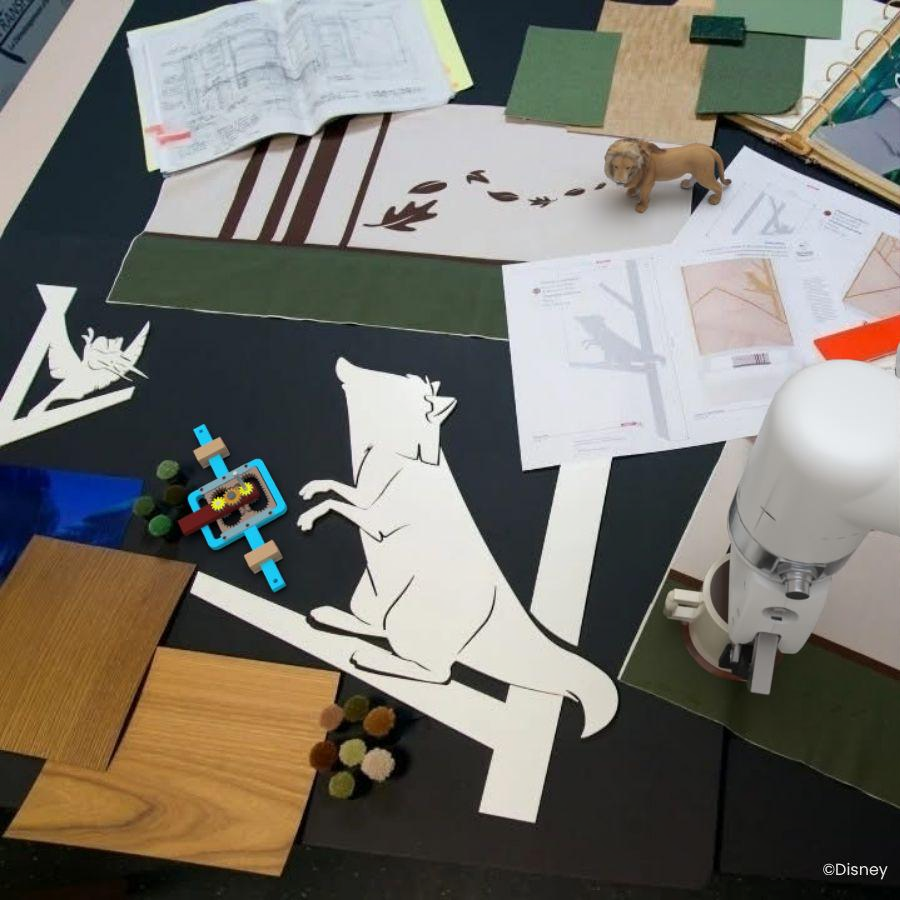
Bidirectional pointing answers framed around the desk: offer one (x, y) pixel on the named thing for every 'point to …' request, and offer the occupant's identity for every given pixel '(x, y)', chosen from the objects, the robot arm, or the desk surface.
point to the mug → (706, 612)
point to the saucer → (713, 666)
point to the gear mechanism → (235, 506)
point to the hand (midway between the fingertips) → (741, 616)
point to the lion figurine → (662, 167)
